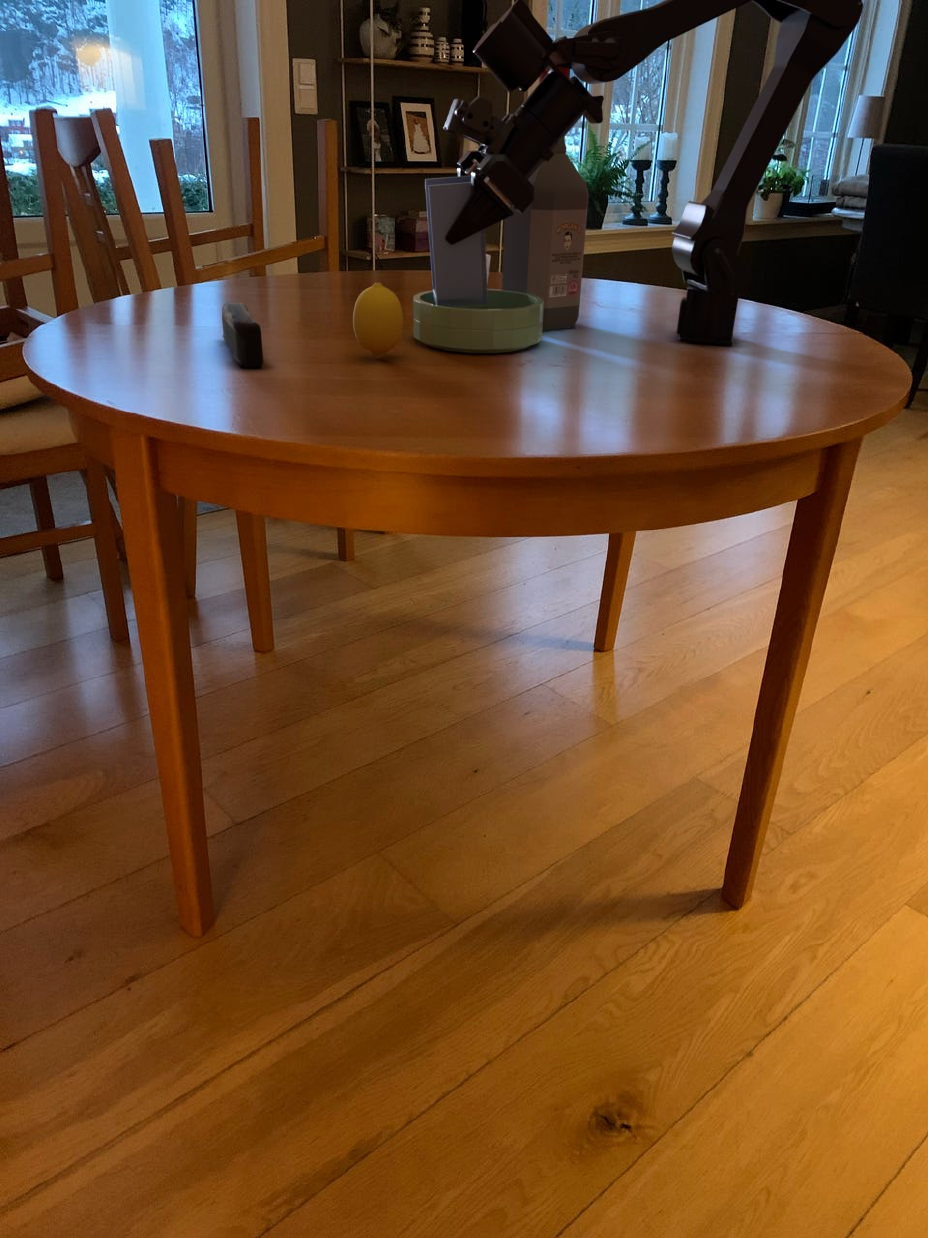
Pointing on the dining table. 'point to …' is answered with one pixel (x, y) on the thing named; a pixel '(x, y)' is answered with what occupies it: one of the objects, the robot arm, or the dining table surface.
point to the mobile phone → (242, 335)
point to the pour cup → (454, 246)
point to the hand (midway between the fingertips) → (443, 238)
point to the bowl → (480, 323)
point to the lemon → (378, 319)
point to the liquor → (549, 239)
